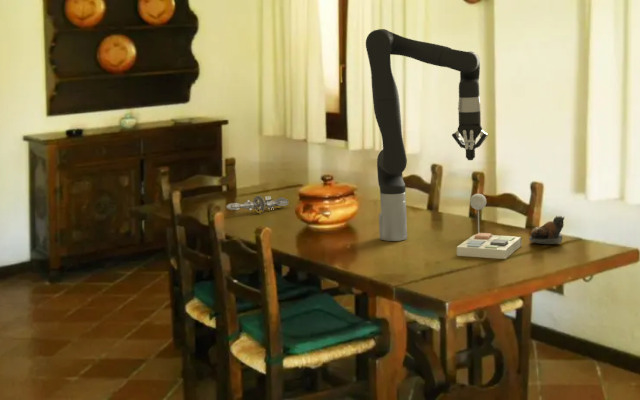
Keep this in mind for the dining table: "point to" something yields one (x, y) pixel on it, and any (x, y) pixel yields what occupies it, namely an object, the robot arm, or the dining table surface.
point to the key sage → (506, 238)
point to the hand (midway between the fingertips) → (470, 159)
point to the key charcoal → (499, 242)
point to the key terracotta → (483, 236)
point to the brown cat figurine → (548, 232)
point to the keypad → (488, 248)
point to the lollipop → (478, 203)
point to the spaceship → (259, 203)
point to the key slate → (476, 242)
